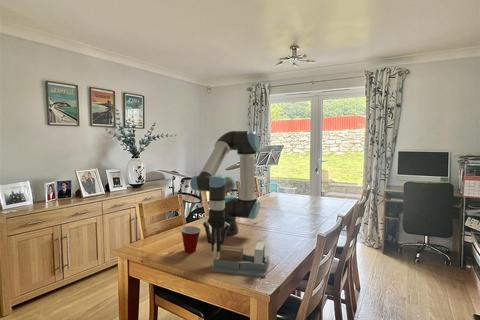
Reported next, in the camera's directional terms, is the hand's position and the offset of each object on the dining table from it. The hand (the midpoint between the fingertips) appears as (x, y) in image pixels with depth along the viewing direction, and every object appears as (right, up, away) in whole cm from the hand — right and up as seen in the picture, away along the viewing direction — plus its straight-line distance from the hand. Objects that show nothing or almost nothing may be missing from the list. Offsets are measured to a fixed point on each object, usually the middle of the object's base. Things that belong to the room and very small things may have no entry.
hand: (215, 257), depth 137 cm
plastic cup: (-15, -2, +16) cm, 21 cm away
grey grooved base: (+12, -3, -2) cm, 13 cm away
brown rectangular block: (+7, -2, -1) cm, 8 cm away
